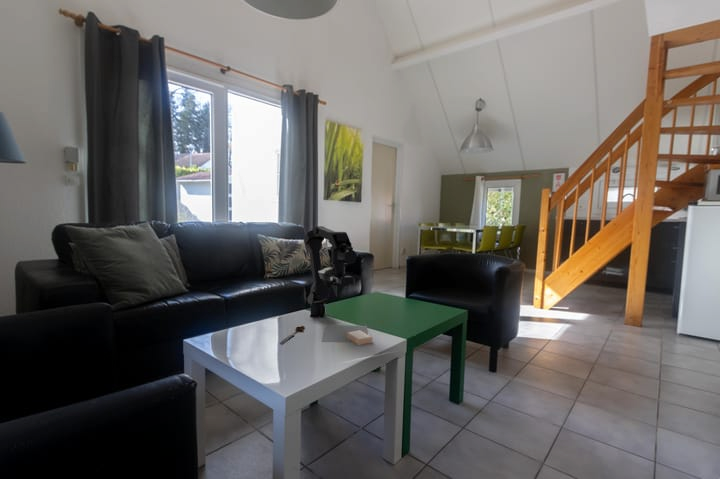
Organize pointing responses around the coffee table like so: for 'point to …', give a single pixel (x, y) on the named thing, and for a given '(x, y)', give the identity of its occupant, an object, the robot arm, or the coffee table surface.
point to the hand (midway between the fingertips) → (337, 297)
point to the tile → (359, 337)
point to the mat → (340, 332)
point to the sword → (298, 329)
